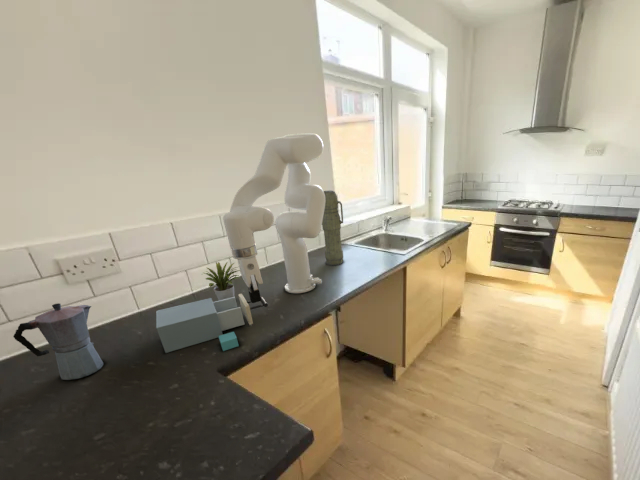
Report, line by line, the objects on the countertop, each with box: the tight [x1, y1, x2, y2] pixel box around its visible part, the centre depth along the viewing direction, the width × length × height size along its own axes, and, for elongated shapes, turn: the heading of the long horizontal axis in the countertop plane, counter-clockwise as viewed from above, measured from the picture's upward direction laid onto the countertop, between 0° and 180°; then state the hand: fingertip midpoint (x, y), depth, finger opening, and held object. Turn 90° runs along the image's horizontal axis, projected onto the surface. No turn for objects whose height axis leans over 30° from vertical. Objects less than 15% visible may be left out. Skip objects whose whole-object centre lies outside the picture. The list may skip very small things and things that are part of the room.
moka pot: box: [13, 302, 104, 381], centre depth 82 cm, size 10×15×20 cm, turn 161°
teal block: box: [218, 331, 240, 352], centre depth 96 cm, size 4×4×3 cm
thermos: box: [321, 190, 344, 266], centre depth 155 cm, size 9×12×35 cm
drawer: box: [213, 293, 269, 332], centre depth 107 cm, size 21×11×7 cm, turn 123°
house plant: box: [201, 261, 240, 301], centre depth 119 cm, size 14×14×16 cm
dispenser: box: [155, 297, 224, 354], centre depth 100 cm, size 16×13×9 cm
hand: (256, 301), depth 110 cm, fingers closed
